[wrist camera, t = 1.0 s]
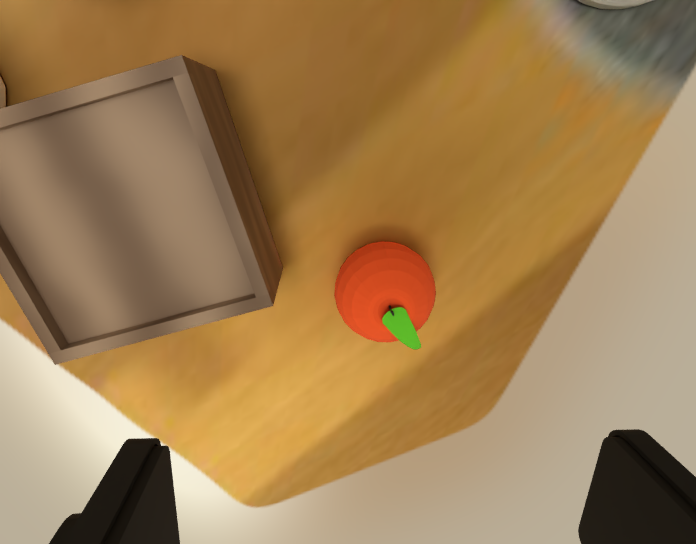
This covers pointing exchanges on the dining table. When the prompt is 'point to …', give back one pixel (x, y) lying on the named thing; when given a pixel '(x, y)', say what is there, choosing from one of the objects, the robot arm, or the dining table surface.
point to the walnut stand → (130, 211)
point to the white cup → (2, 94)
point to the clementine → (385, 293)
